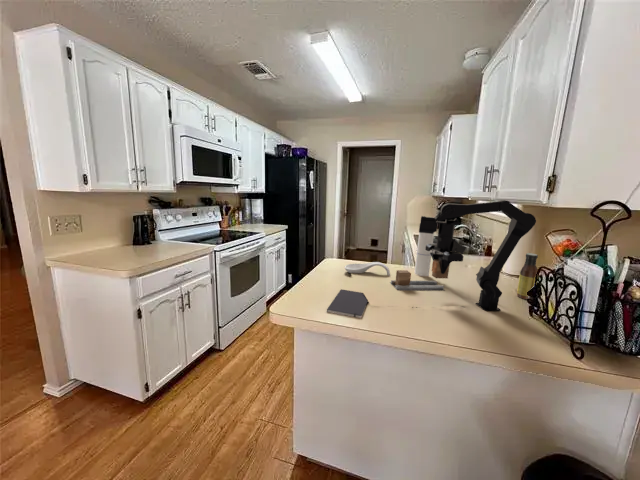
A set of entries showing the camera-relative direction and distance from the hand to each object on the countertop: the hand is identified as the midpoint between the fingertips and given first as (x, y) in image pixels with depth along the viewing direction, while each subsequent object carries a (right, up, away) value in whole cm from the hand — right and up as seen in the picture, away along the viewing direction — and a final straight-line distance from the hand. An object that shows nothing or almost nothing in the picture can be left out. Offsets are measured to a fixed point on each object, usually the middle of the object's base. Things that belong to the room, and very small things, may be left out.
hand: (440, 272), depth 114 cm
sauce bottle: (+41, -12, +9) cm, 44 cm away
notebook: (-38, -12, -5) cm, 40 cm away
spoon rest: (-25, -5, +31) cm, 40 cm away
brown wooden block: (0, -2, 0) cm, 2 cm away
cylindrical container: (+4, -6, +31) cm, 32 cm away
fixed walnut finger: (-12, -8, +12) cm, 19 cm away
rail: (-6, -9, +13) cm, 17 cm away
